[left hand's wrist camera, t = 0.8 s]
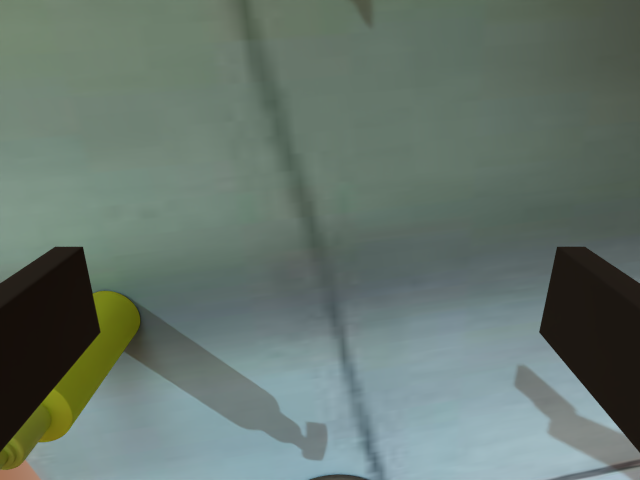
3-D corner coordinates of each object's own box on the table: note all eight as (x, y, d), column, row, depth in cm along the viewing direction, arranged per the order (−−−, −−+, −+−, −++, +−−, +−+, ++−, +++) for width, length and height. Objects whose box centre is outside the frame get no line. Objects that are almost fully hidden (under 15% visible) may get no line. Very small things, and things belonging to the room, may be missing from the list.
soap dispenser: (139, 285, 43) (0, 453, 24) (140, 344, 45) (15, 538, 27) (78, 277, 43) (-110, 442, 24) (82, 337, 45) (-85, 528, 26)
